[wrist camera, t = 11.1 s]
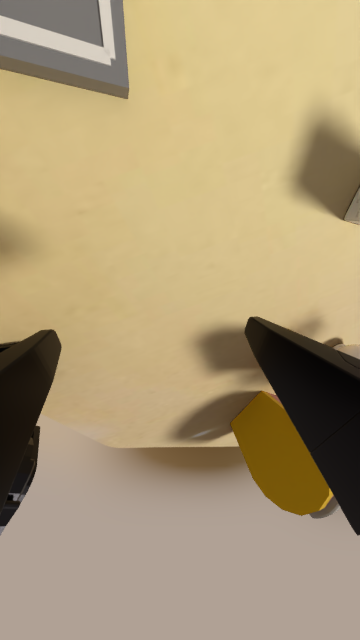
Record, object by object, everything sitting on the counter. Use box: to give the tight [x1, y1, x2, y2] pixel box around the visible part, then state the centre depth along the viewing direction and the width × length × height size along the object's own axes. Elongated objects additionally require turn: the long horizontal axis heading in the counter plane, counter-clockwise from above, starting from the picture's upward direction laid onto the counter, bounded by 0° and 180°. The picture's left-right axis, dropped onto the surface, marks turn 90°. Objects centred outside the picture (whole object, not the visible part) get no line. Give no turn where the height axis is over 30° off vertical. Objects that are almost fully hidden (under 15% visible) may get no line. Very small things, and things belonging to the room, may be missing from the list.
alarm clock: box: [230, 391, 341, 518], centre depth 35 cm, size 15×8×18 cm, turn 144°
